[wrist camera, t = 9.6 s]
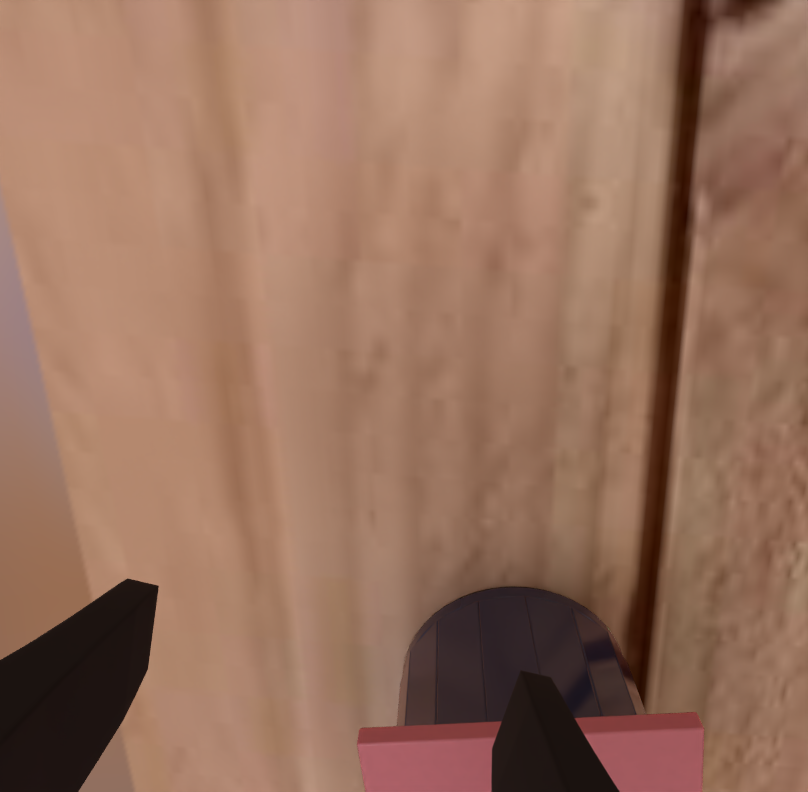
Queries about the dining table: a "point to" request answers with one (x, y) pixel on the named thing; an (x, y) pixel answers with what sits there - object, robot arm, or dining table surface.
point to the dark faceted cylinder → (512, 659)
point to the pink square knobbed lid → (472, 742)
